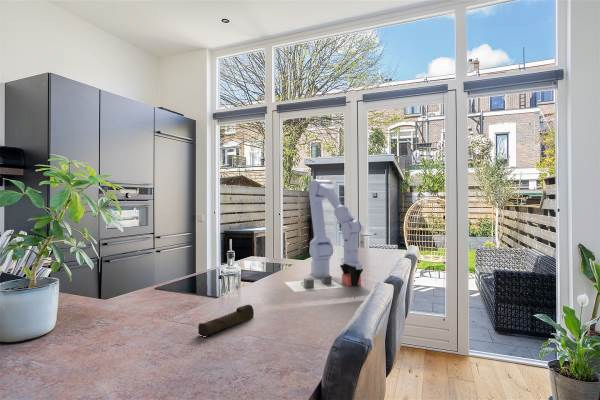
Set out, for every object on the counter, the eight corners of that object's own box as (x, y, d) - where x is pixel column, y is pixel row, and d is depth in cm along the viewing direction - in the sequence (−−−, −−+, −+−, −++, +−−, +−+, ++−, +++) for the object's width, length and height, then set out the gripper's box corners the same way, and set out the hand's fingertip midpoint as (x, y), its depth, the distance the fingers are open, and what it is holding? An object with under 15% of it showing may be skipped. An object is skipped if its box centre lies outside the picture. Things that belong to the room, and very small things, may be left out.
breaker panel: (284, 285, 142) (284, 275, 142) (329, 282, 148) (329, 271, 148) (294, 295, 128) (294, 283, 128) (344, 291, 134) (344, 279, 134)
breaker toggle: (304, 286, 134) (304, 278, 134) (311, 285, 135) (311, 278, 135) (306, 288, 132) (306, 280, 132) (313, 287, 132) (313, 279, 132)
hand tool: (206, 340, 89) (206, 322, 89) (197, 336, 92) (197, 319, 92) (259, 320, 104) (259, 304, 104) (250, 317, 106) (250, 302, 106)
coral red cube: (342, 286, 141) (341, 274, 141) (354, 285, 142) (354, 273, 142) (347, 289, 135) (347, 277, 135) (360, 288, 137) (360, 276, 137)
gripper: (334, 248, 144) (335, 280, 145) (349, 253, 131) (350, 289, 131) (350, 247, 147) (350, 279, 147) (366, 252, 133) (366, 287, 133)
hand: (351, 283), depth 139 cm, fingers closed on coral red cube, 6 cm apart
